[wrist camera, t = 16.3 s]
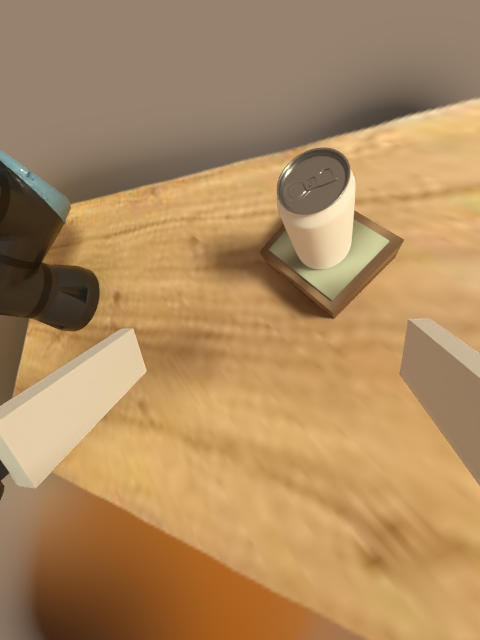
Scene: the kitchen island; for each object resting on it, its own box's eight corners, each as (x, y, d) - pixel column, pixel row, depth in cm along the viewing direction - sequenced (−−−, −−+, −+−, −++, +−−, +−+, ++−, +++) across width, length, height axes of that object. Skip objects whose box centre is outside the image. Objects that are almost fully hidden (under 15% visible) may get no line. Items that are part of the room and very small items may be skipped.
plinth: (269, 264, 38) (258, 251, 33) (318, 209, 36) (315, 186, 31) (334, 318, 33) (332, 311, 28) (395, 257, 31) (404, 238, 26)
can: (290, 234, 31) (263, 169, 20) (341, 212, 29) (340, 126, 18) (304, 278, 30) (283, 232, 19) (359, 258, 28) (370, 193, 17)
